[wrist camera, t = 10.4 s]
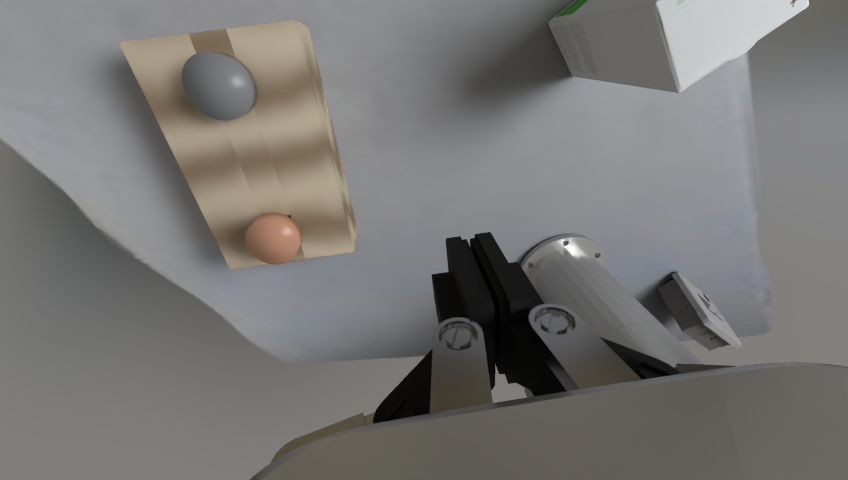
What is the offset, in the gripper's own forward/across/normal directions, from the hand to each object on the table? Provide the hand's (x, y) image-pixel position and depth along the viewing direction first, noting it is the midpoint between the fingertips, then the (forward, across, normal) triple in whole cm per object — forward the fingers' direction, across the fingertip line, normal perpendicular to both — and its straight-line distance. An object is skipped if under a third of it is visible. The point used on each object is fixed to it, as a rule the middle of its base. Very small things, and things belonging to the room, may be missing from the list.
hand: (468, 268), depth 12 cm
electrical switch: (+27, -38, +30) cm, 56 cm away
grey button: (+26, +16, -7) cm, 32 cm away
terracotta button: (+26, +16, +7) cm, 31 cm away
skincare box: (+27, -19, -8) cm, 34 cm away
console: (+27, +16, 0) cm, 31 cm away
